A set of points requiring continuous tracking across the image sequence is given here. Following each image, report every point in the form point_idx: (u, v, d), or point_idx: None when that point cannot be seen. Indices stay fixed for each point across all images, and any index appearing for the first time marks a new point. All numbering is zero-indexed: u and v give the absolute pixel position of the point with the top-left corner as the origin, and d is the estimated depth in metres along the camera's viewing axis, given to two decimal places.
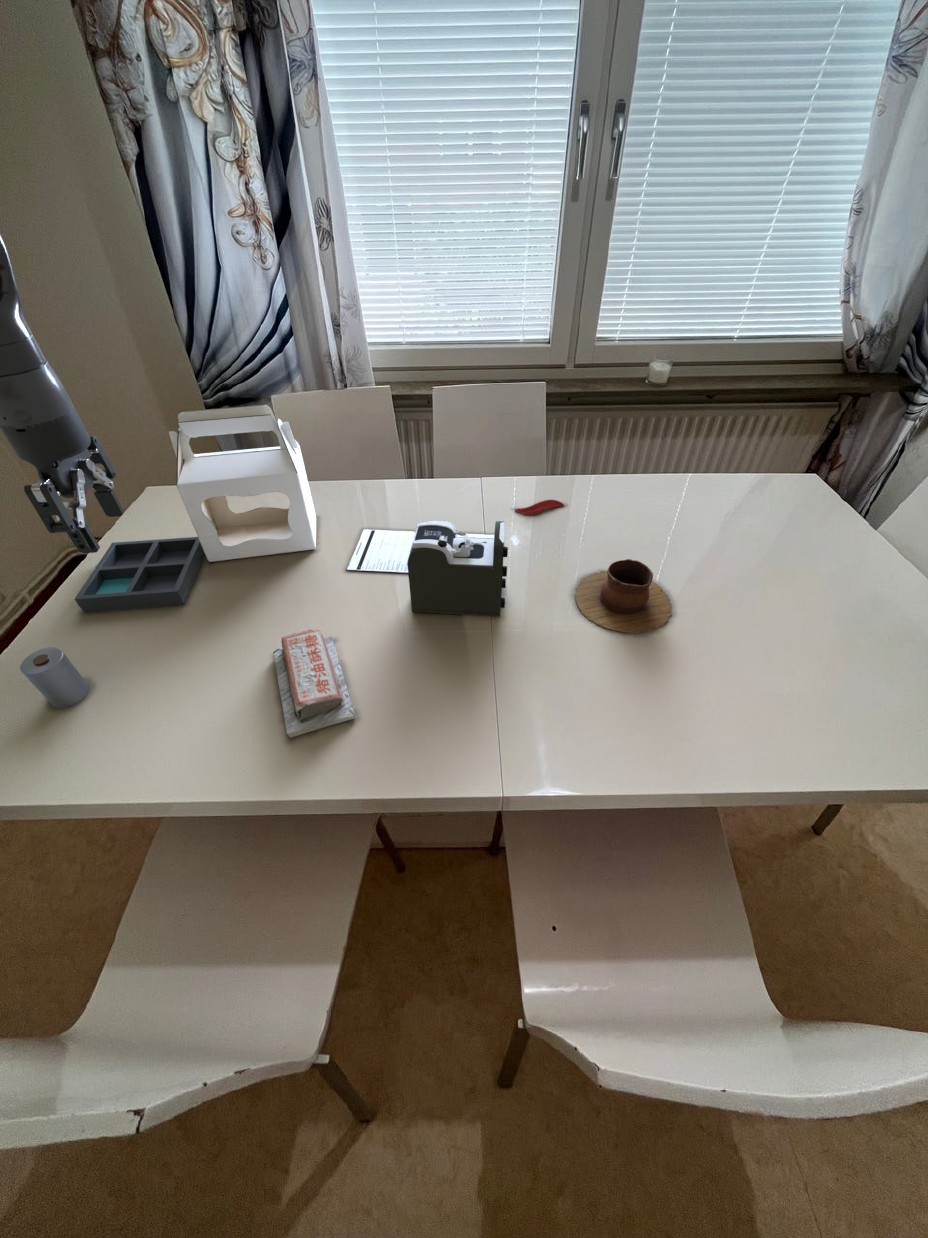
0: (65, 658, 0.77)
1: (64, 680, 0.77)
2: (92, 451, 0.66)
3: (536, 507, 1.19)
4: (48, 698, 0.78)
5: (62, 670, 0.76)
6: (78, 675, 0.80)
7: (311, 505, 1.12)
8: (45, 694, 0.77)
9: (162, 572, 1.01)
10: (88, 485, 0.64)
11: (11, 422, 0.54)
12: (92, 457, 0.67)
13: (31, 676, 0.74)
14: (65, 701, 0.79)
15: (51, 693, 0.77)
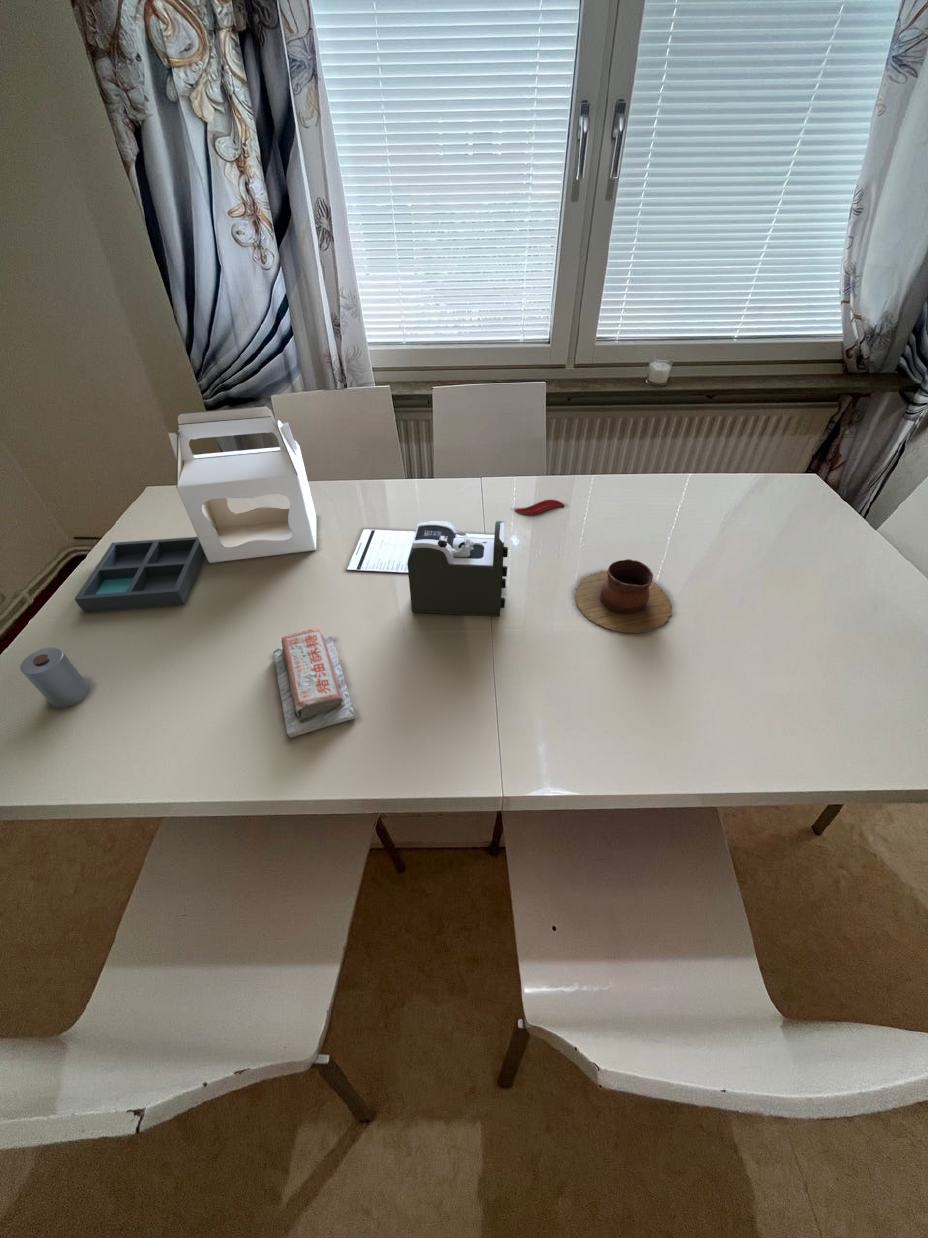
0: (65, 658, 0.77)
1: (64, 680, 0.77)
2: None
3: (536, 507, 1.19)
4: (48, 698, 0.78)
5: (62, 670, 0.76)
6: (78, 675, 0.80)
7: (311, 506, 1.12)
8: (45, 694, 0.77)
9: (162, 572, 1.01)
10: None
11: None
12: None
13: (31, 676, 0.74)
14: (65, 701, 0.79)
15: (51, 693, 0.77)
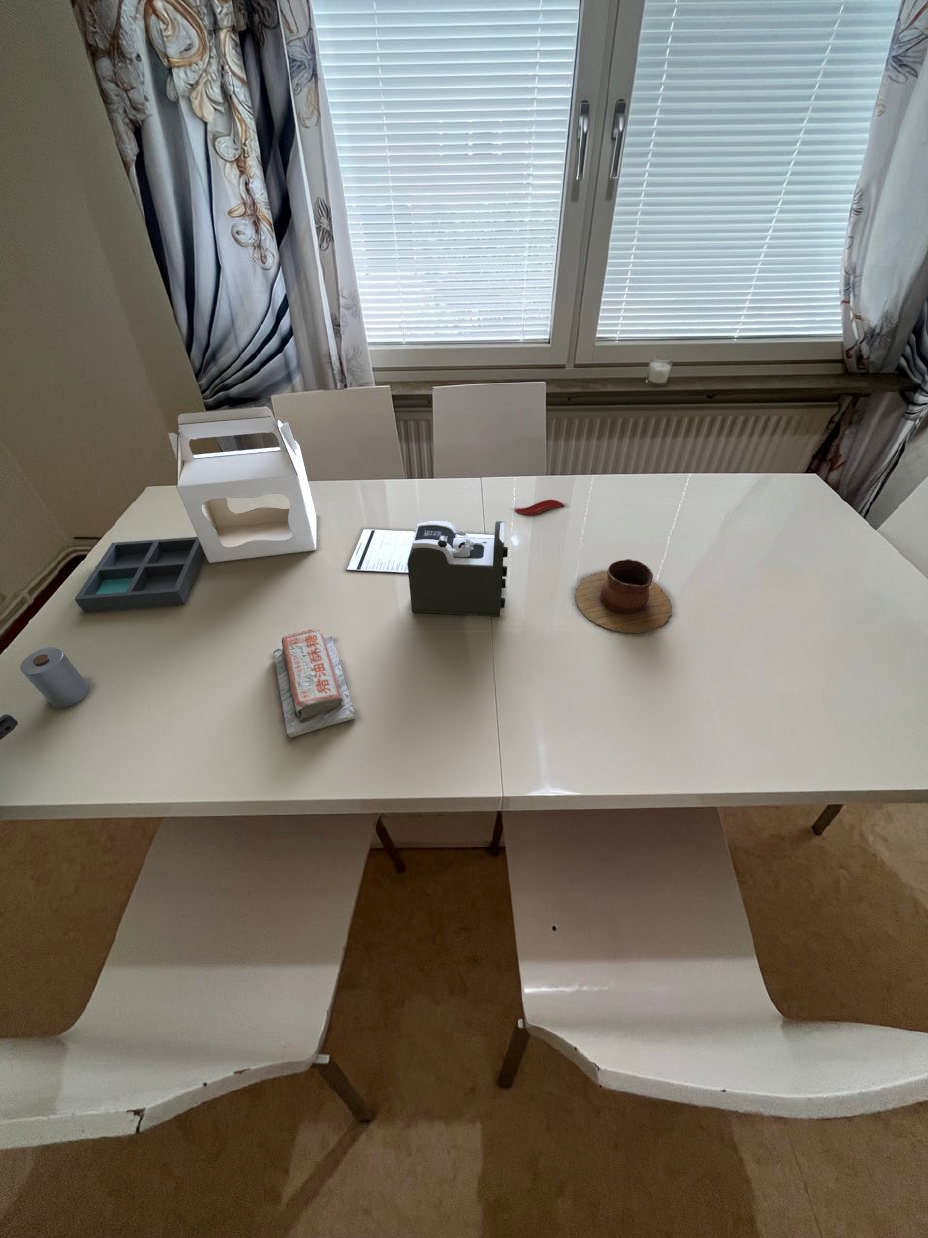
0: (65, 658, 0.77)
1: (64, 680, 0.77)
2: None
3: (536, 507, 1.19)
4: (48, 698, 0.78)
5: (62, 670, 0.76)
6: (78, 675, 0.80)
7: (311, 506, 1.12)
8: (45, 694, 0.77)
9: (162, 572, 1.01)
10: None
11: None
12: None
13: (31, 676, 0.74)
14: (65, 701, 0.79)
15: (51, 693, 0.77)
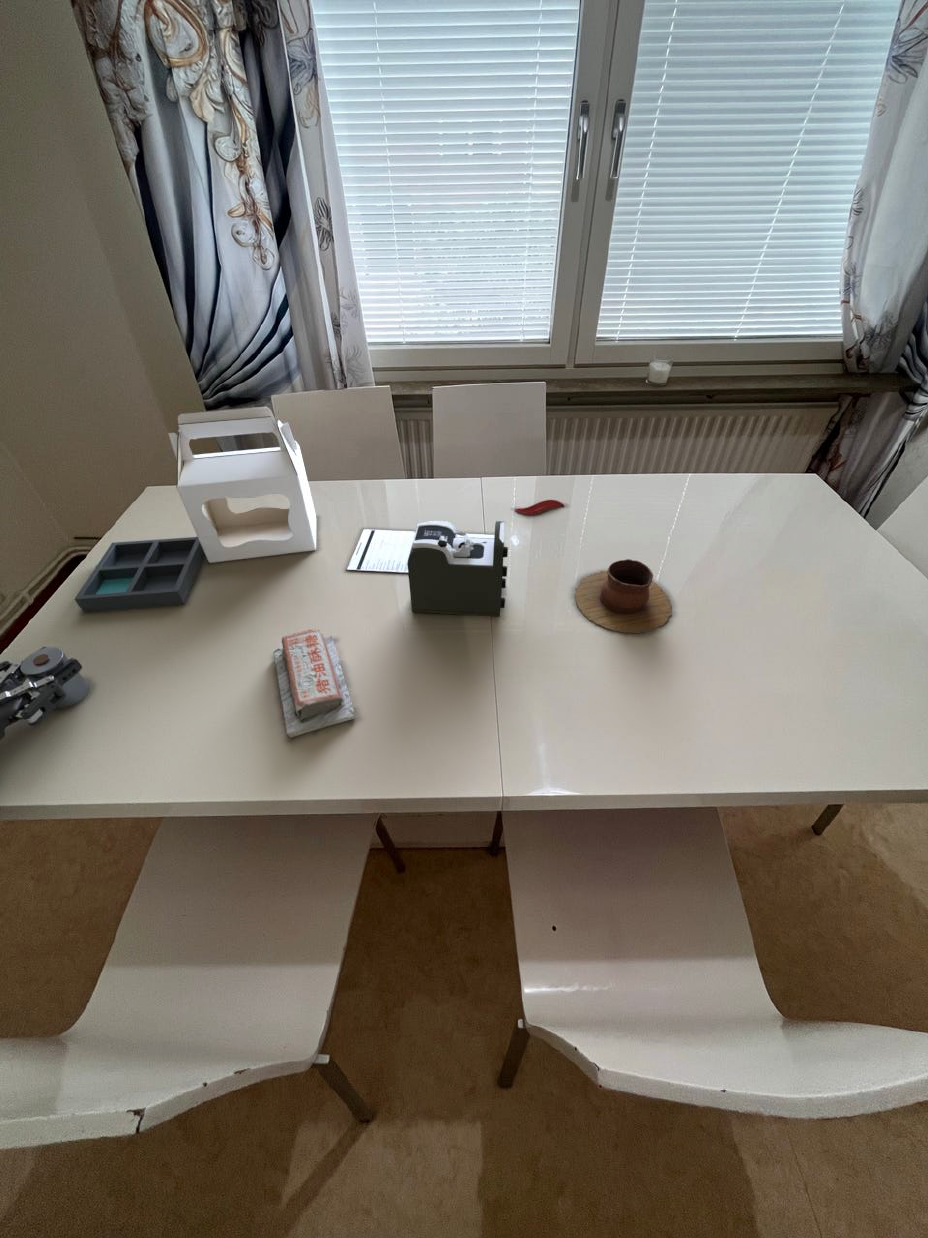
0: (65, 658, 0.77)
1: None
2: None
3: (536, 507, 1.19)
4: (48, 698, 0.78)
5: None
6: (78, 675, 0.80)
7: (311, 506, 1.12)
8: None
9: (162, 572, 1.01)
10: None
11: None
12: None
13: (31, 676, 0.74)
14: (65, 701, 0.79)
15: None
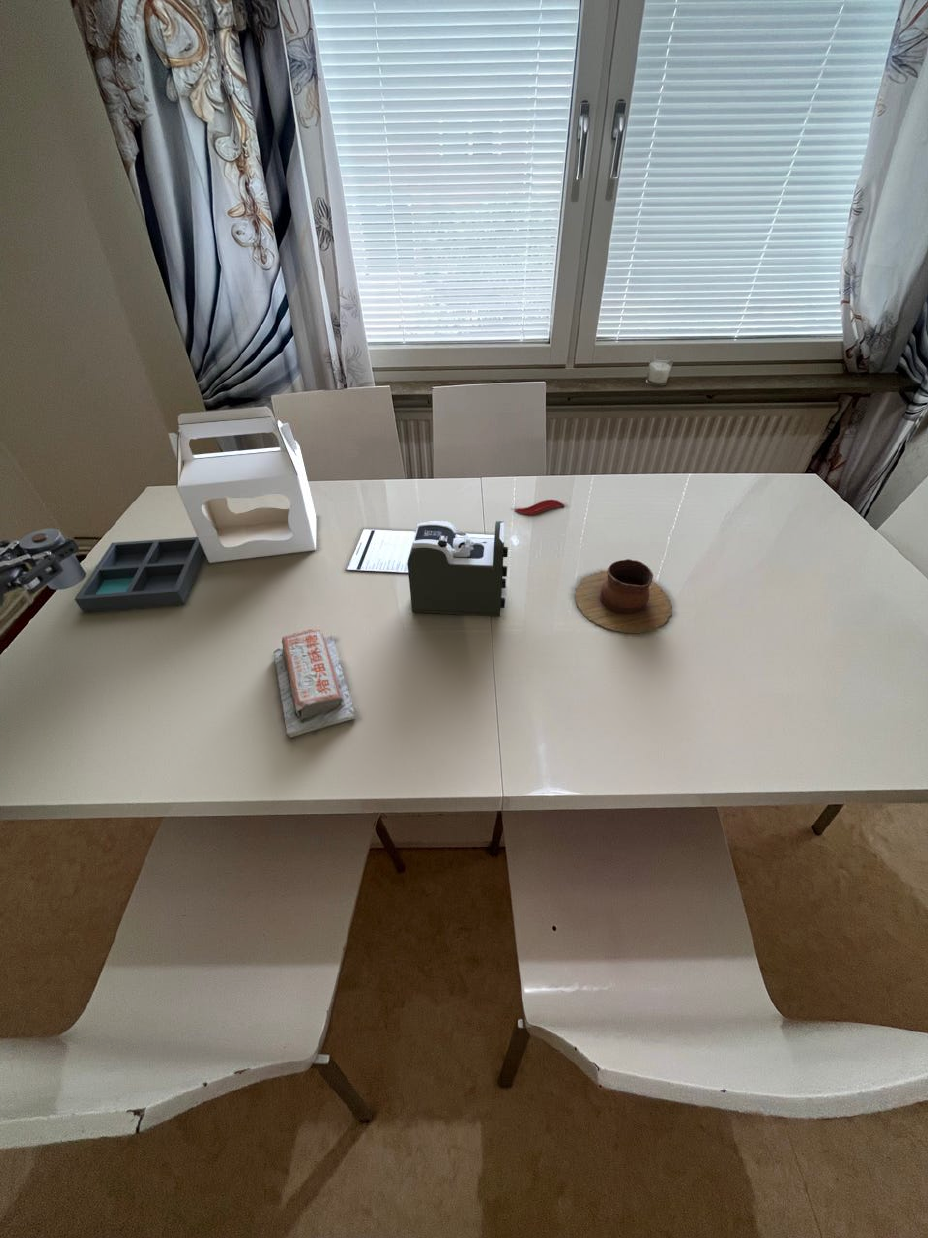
0: (62, 538, 0.80)
1: None
2: None
3: (536, 507, 1.19)
4: None
5: None
6: (75, 558, 0.82)
7: (311, 506, 1.12)
8: None
9: (162, 572, 1.01)
10: None
11: None
12: None
13: (29, 550, 0.77)
14: (62, 582, 0.81)
15: None
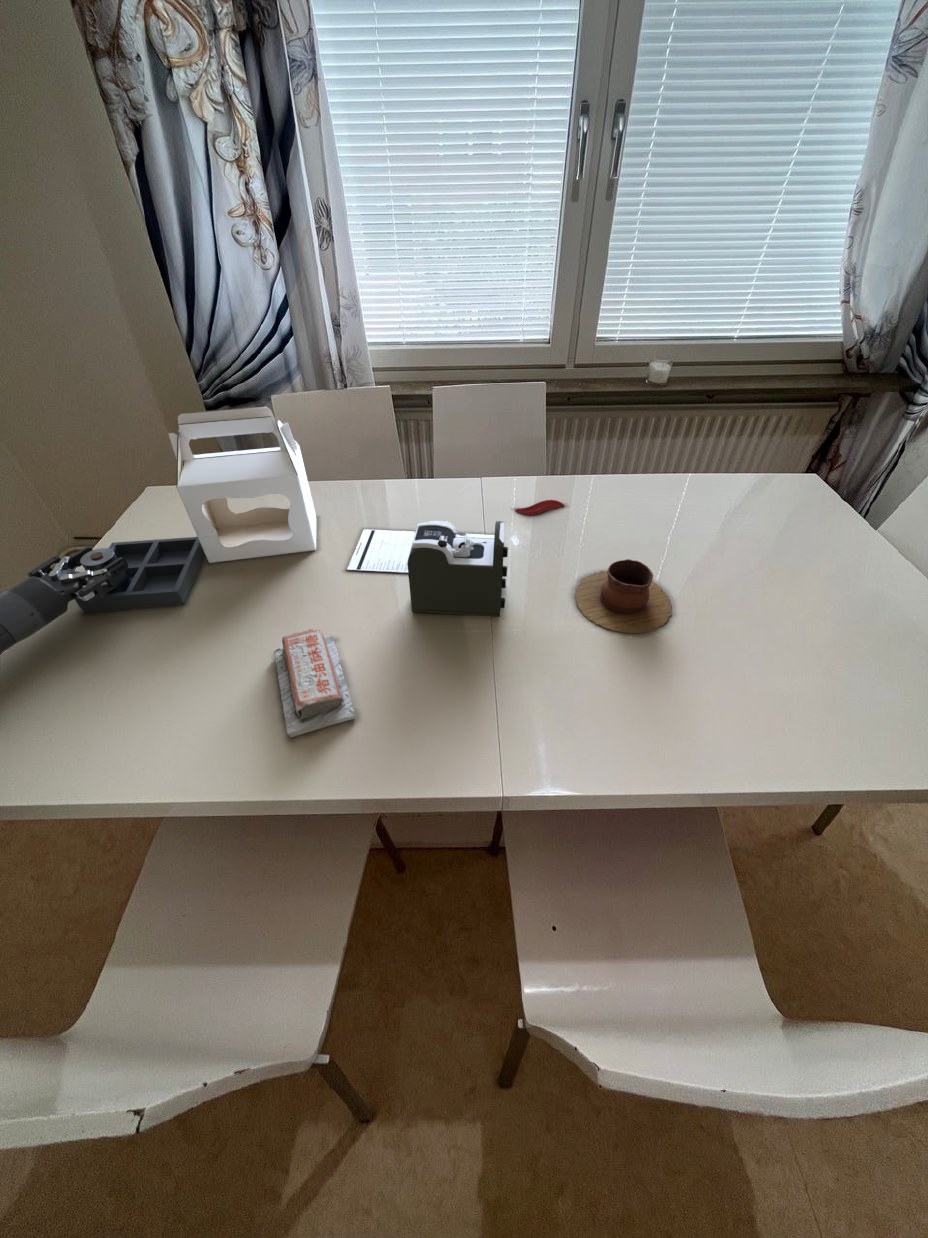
0: (115, 556, 0.94)
1: None
2: None
3: (536, 507, 1.19)
4: None
5: None
6: (125, 573, 0.97)
7: (311, 506, 1.12)
8: None
9: (162, 572, 1.01)
10: None
11: None
12: None
13: (89, 567, 0.91)
14: None
15: (104, 585, 0.94)
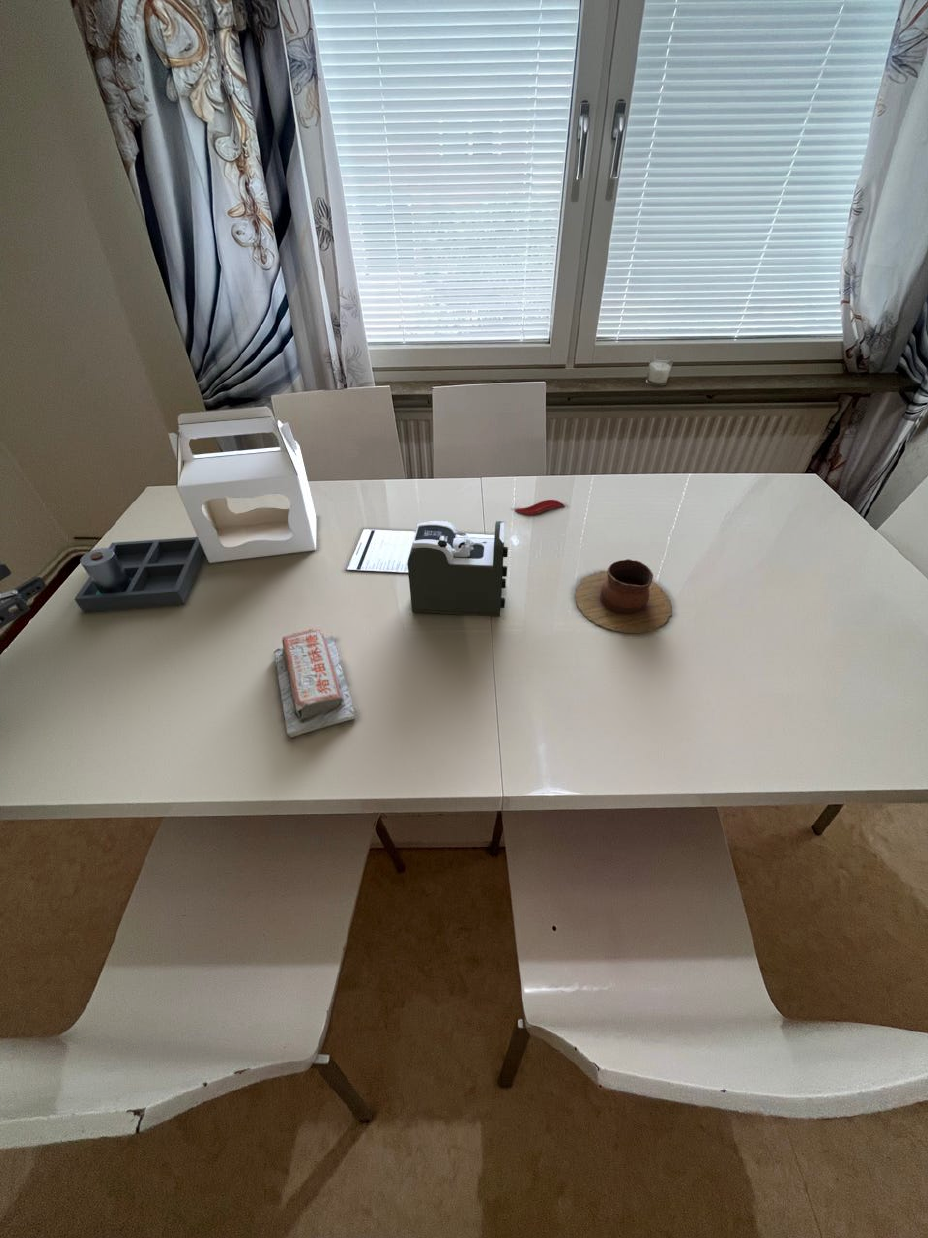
0: (115, 556, 0.94)
1: (115, 574, 0.94)
2: None
3: (536, 507, 1.19)
4: (101, 589, 0.95)
5: (113, 565, 0.93)
6: (125, 573, 0.97)
7: (311, 506, 1.12)
8: (99, 585, 0.94)
9: (162, 572, 1.01)
10: None
11: None
12: None
13: (89, 567, 0.91)
14: None
15: (104, 585, 0.94)
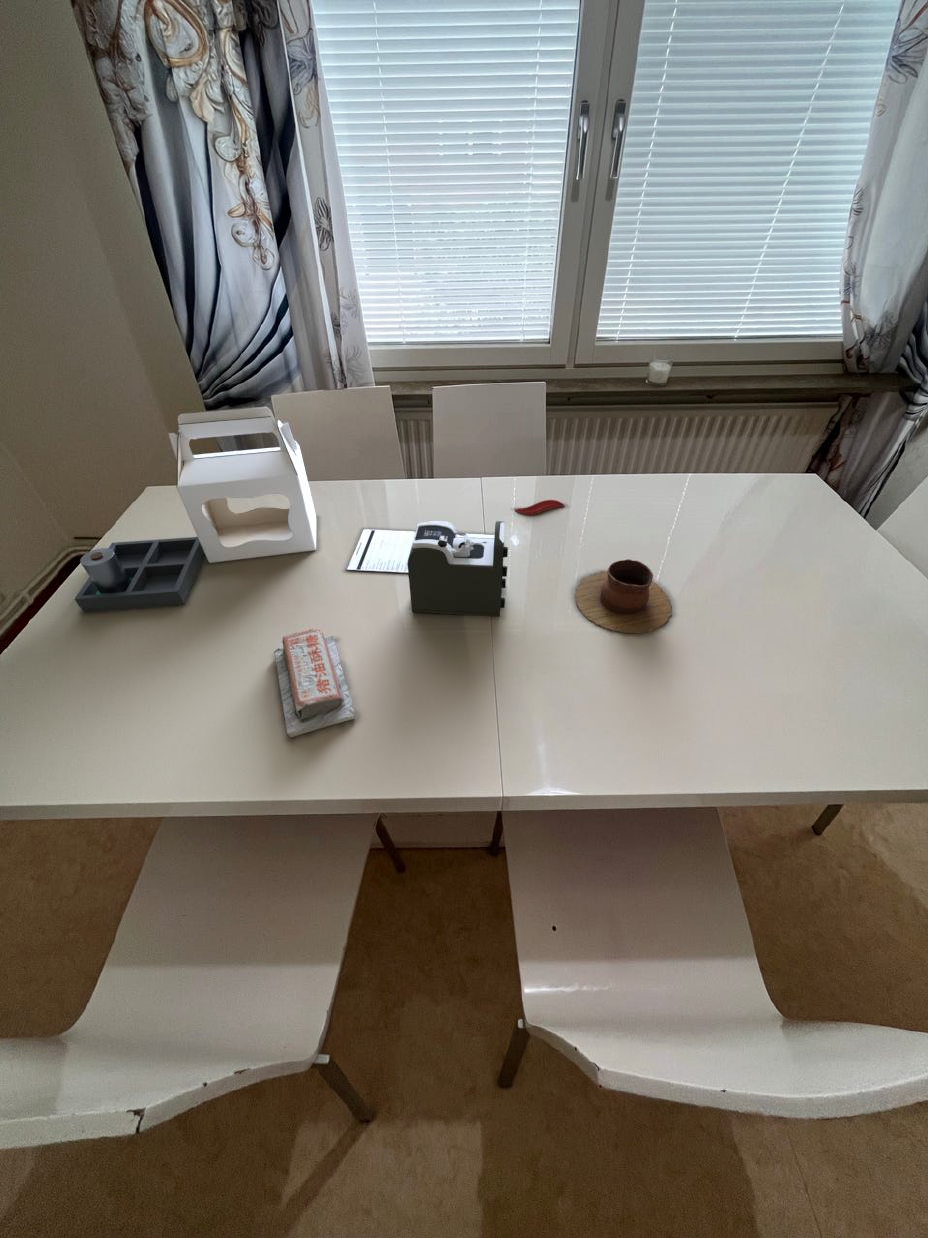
0: (115, 556, 0.94)
1: (115, 574, 0.94)
2: None
3: (536, 507, 1.19)
4: (101, 589, 0.95)
5: (113, 565, 0.93)
6: (125, 573, 0.97)
7: (311, 506, 1.12)
8: (99, 585, 0.94)
9: (162, 572, 1.01)
10: None
11: None
12: None
13: (89, 567, 0.91)
14: None
15: (104, 585, 0.94)
